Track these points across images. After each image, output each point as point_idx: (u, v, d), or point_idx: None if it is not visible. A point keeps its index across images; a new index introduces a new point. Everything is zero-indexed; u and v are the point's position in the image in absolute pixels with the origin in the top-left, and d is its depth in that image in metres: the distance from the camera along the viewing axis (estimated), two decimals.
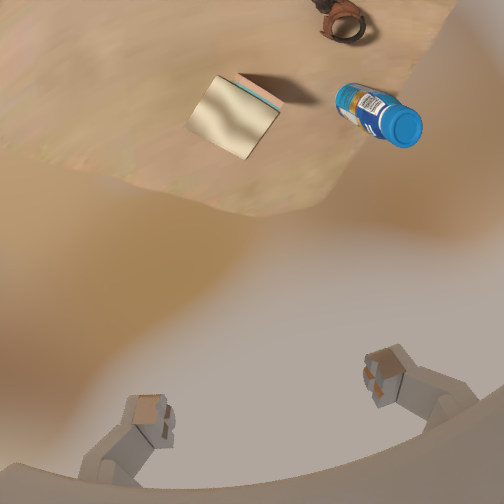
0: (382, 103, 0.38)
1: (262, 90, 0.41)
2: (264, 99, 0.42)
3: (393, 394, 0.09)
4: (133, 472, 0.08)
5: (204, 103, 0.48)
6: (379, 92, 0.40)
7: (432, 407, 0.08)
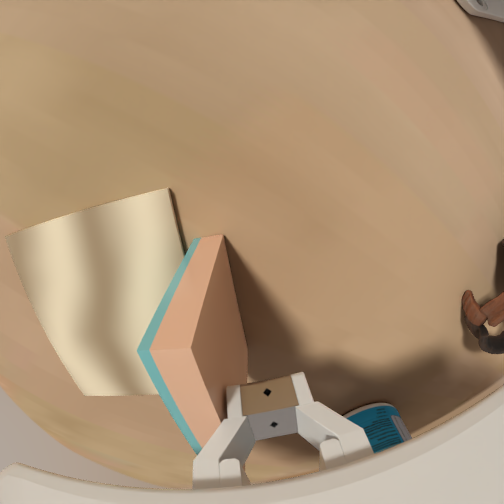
0: None
1: (216, 428, 0.09)
2: (195, 443, 0.09)
3: (291, 425, 0.09)
4: None
5: (76, 229, 0.14)
6: None
7: None
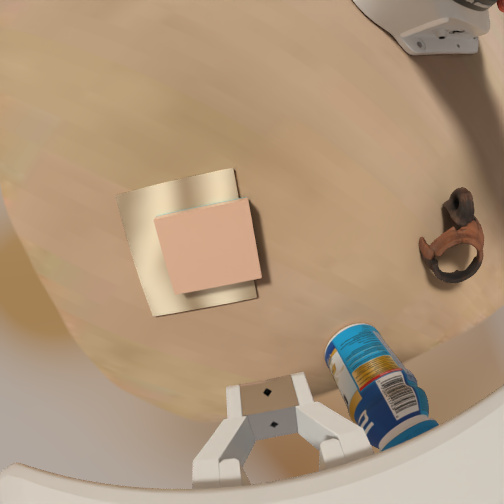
0: (416, 405, 0.21)
1: None
2: None
3: (291, 425, 0.09)
4: None
5: (175, 190, 0.27)
6: (413, 378, 0.25)
7: None
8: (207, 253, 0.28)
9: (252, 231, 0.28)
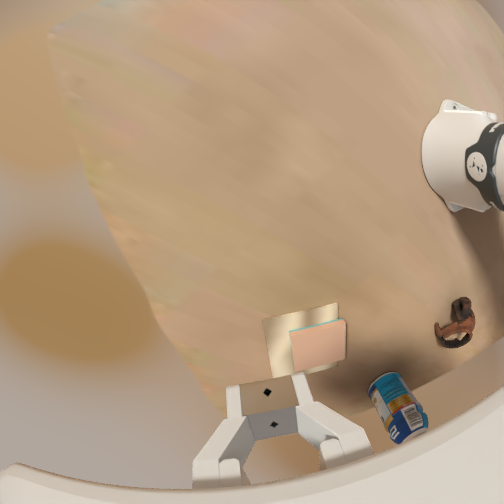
0: (421, 423, 0.39)
1: (292, 353, 0.45)
2: None
3: (291, 425, 0.09)
4: None
5: (302, 317, 0.44)
6: (421, 407, 0.42)
7: None
8: (318, 350, 0.45)
9: (345, 338, 0.45)
